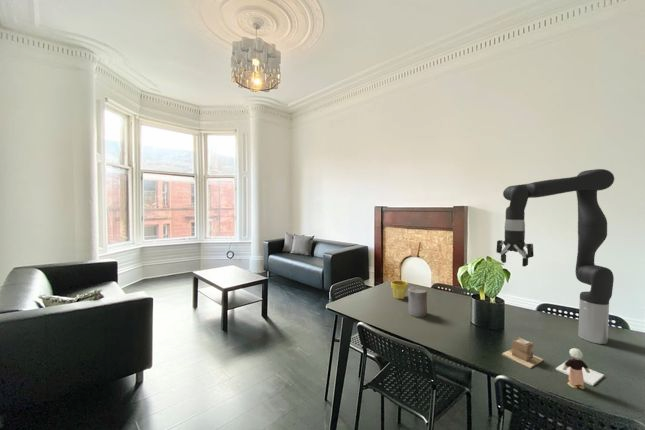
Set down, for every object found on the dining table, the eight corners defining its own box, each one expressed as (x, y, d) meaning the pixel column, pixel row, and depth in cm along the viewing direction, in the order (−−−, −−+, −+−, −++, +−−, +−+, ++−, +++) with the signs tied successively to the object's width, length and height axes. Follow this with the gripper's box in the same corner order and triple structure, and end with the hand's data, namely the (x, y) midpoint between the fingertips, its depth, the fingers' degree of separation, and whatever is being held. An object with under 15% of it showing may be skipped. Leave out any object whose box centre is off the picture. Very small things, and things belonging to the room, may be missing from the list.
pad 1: (514, 348, 114) (514, 346, 114) (543, 360, 105) (543, 359, 105) (501, 354, 109) (501, 353, 109) (530, 368, 100) (530, 366, 100)
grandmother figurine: (579, 381, 92) (581, 345, 92) (591, 389, 89) (592, 351, 88) (558, 382, 92) (559, 346, 92) (568, 390, 88) (570, 352, 88)
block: (518, 351, 110) (519, 337, 110) (532, 357, 106) (533, 342, 105) (512, 355, 108) (512, 340, 107) (526, 361, 103) (526, 346, 103)
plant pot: (409, 296, 177) (409, 281, 176) (405, 301, 168) (405, 285, 167) (393, 293, 182) (393, 279, 182) (388, 298, 173) (388, 283, 173)
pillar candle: (424, 310, 154) (424, 284, 153) (429, 317, 144) (429, 290, 143) (406, 310, 154) (406, 284, 154) (410, 317, 145) (410, 290, 144)
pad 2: (567, 361, 104) (567, 360, 104) (603, 376, 95) (603, 374, 95) (555, 369, 99) (555, 368, 99) (592, 385, 90) (592, 384, 90)
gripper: (537, 230, 118) (536, 266, 119) (502, 227, 131) (501, 260, 132) (528, 231, 115) (527, 268, 116) (493, 228, 127) (493, 262, 128)
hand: (513, 264), depth 124 cm, fingers open, 8 cm apart
